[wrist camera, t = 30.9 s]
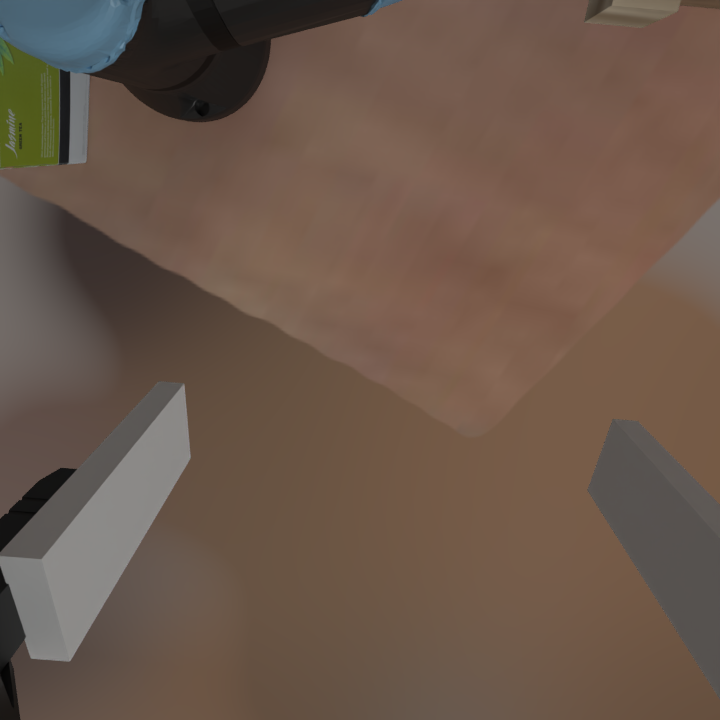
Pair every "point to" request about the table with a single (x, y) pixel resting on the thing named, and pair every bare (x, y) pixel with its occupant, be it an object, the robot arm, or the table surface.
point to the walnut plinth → (701, 3)
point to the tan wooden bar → (629, 11)
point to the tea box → (41, 112)
